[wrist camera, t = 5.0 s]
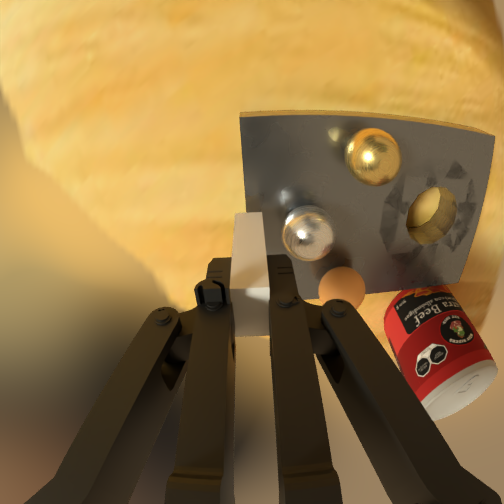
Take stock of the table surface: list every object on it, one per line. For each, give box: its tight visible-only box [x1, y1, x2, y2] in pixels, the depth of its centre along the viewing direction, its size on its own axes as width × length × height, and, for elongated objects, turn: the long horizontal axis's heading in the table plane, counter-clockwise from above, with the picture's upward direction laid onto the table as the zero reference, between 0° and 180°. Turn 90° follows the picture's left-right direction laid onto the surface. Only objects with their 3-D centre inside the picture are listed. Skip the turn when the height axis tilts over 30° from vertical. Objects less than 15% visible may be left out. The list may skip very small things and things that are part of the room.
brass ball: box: [344, 128, 402, 187], centre depth 15 cm, size 3×3×3 cm
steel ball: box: [281, 205, 337, 261], centre depth 17 cm, size 3×3×3 cm
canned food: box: [384, 285, 498, 421], centre depth 22 cm, size 8×8×11 cm
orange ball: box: [318, 267, 365, 309], centre depth 19 cm, size 3×3×3 cm
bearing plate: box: [239, 110, 495, 300], centre depth 19 cm, size 13×18×2 cm
